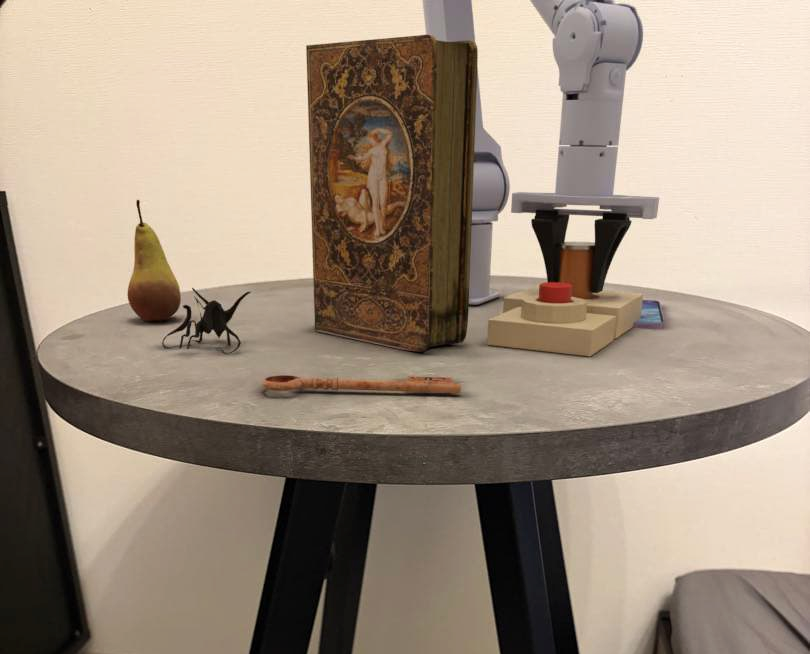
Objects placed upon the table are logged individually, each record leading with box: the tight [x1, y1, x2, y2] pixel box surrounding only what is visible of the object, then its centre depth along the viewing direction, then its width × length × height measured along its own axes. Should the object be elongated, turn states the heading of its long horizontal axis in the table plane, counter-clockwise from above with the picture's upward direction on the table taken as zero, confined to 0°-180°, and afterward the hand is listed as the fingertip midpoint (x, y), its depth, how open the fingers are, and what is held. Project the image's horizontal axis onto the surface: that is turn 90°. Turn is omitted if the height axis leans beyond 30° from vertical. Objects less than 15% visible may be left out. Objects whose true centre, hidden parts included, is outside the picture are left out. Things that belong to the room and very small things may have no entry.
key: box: [261, 374, 462, 394], centre depth 66 cm, size 6×1×15 cm
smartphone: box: [631, 299, 665, 330], centre depth 97 cm, size 7×1×15 cm
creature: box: [161, 287, 252, 355], centre depth 79 cm, size 8×5×8 cm
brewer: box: [502, 284, 644, 340], centre depth 91 cm, size 12×10×3 cm
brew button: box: [538, 282, 572, 303], centre depth 81 cm, size 3×3×2 cm
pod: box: [558, 241, 595, 300], centre depth 89 cm, size 4×4×6 cm
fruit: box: [127, 199, 182, 322], centre depth 89 cm, size 6×6×12 cm
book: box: [305, 34, 479, 353], centre depth 79 cm, size 16×6×25 cm, turn 47°
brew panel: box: [486, 295, 616, 357], centre depth 82 cm, size 10×8×4 cm
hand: (575, 290), depth 90 cm, fingers closed on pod, 4 cm apart
